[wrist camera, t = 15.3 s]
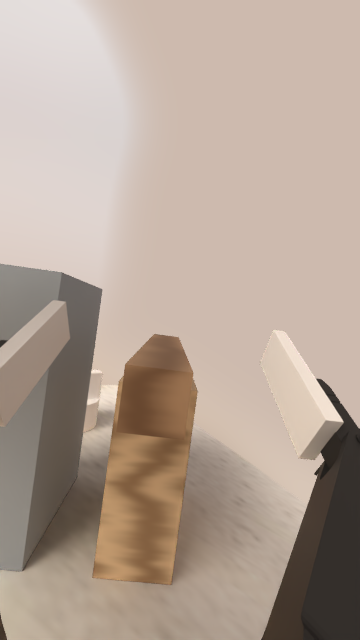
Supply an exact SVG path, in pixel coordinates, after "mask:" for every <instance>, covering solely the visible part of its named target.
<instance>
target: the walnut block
mask: <svg viewBox="0 0 360 640" xmlns="http://www.w3.org/2000/svg"><path fill="white" fill-rule="evenodd" d="M192 379H193V371H192V369H191V366H190V364H189V361H188V359H187V356H186V354H185V352H184V349H183V347H182V344H181V342H180V340H179V338H178V337H172V336H165V335H157V334H154V335H153V336H152V337H151V338H150V339H149V340H148V341H147V342H146V343H145V344H144V345H143V347H141V349H140V350H139V351H138V352H137V353H136V354H135V355H134V356H133V357H132V358H131V359H130V360H129V361H128V362H127V363H126V364H125V370H124V378H123V385H122V392H121V400H120V407H119V415H118V422H117V429H116V432H118V433H127V434H135V435H144V436H153V437H162V438H170V439H179V440H184V438H185V430H186V423H187V416H188V408H189V401H190V394H191V386H192Z"/></svg>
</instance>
